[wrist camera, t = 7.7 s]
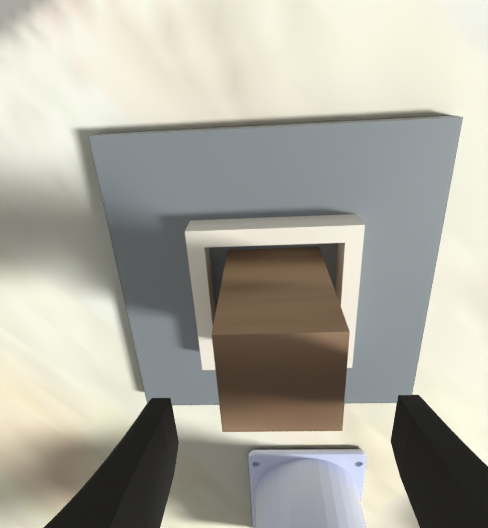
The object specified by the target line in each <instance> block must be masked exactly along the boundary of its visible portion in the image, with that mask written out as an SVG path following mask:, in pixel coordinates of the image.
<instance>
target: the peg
mask: <svg viewBox="0 0 488 528" xmlns="http://www.w3.org/2000/svg"><path fill="white" fill-rule="evenodd" d="M349 335H350V331H349V328H348V325H347V323H346V320H345V317H344V314H343V312H342V309H341V306H340V303H339V301H338V298H337V295H336V292H335V289H334V287H333V284H332V281H331V278H330V276H329V273H328V270H327V267H326V265H325V262H324V259H323V256H322V253H321V251H320V248H319V247H302V248H275V249H249V250H228V251H227V256H226V262H225V267H224V272H223V277H222V283H221V288H220V293H219V298H218V304H217V309H216V314H215V319H214V325H213V330H212V344H213V352H214V361H215V370H216V379H217V387H218V396H219V405H220V414H221V422H222V431H223V432H263V431H342V426H343V413H344V400H345V387H346V374H347V361H348V348H349Z"/></svg>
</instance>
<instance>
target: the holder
mask: <svg viewBox="0 0 488 528" xmlns="http://www.w3.org/2000/svg"><path fill="white" fill-rule="evenodd" d="M462 119H463V117H459V116H453V115H449V116H430V117H411V118H391V119H372V120H353V121H334V122H315V123H296V124H276V125H257V126H238V127H219V128H200V129H181V130H161V131H142V132H123V133H104V134H95V135H92V136H89V140H90V145H91V149H92V154H93V158H94V163H95V167H96V172H97V177H98V181H99V186H100V190H101V195H102V199H103V204H104V208H105V213H106V218H107V222H108V227H109V231H110V236H111V240H112V245H113V250H114V254H115V259H116V263H117V268H118V272H119V277H120V281H121V286H122V291H123V295H124V300H125V304H126V309H127V313H128V318H129V323H130V327H131V332H132V336H133V341H134V345H135V350H136V355H137V359H138V364H139V368H140V373H141V377H142V382H143V386H144V391H145V396H146V400H147V403H148V402H149V400H150V399H152V398H171V403H172V405H219V396H218V387H217V379H216V370H215V361H214V352H213V344H212V330H213V325H214V319H215V314H216V309H217V304H218V298H219V293H220V288H221V283H222V277H223V272H224V267H225V262H226V256H227V251H228V250H249V249H275V248H302V247H319V248H320V251H321V253H322V256H323V259H324V262H325V265H326V267H327V270H328V273H329V276H330V278H331V281H332V284H333V287H334V289H335V292H336V295H337V298H338V301H339V303H340V306H341V309H342V312H343V314H344V317H345V320H346V323H347V325H348V328H349V331H350V335H349V348H348V361H347V374H346V387H345V400H344V403H397V400H398V395H412V392H413V386H414V381H415V376H416V370H417V365H418V359H419V354H420V348H421V343H422V337H423V332H424V327H425V321H426V316H427V310H428V305H429V299H430V294H431V288H432V283H433V277H434V272H435V267H436V261H437V256H438V250H439V245H440V239H441V234H442V228H443V223H444V217H445V212H446V207H447V201H448V196H449V190H450V185H451V179H452V174H453V168H454V163H455V158H456V152H457V147H458V141H459V136H460V130H461V125H462Z"/></svg>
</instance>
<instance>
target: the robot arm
mask: <svg viewBox="0 0 488 528" xmlns="http://www.w3.org/2000/svg"><path fill="white" fill-rule="evenodd" d="M178 443H179V442H178V436H177V431H176V425H175V420H174V414H173V409H172V403H171V398H152V399H150V400H149V402H148V403H147V405H146V406H145V408H144V409H143V410H142V412H141V413H140V415H139V416H138V418H137V419H136V421H135V422H134V423H133V425H132V426H131V427H130V429H129V430H128V432H127V433H126V434H125V436H124V437H123V438H122V440H121V441H120V442H119V444H118V445H117V446H116V447H115V449H114V450H113V451H112V453H111V454H110V455H109V456H108V458H107V459H106V460H105V461H104V463H103V464H102V465H101V466H100V467H99V469H98V470H97V471H96V472H95V473H94V475H93V476H92V477H91V478H90V479H89V481H88V482H87V483H86V484H85V485H84V486H83V487H82V488H81V490H80V491H79V492H78V493H77V494H76V495H75V496H74V497H73V498H72V499H71V501H70V502H69V503H68V504H67V505H66V506H65V507H64V508H63V509H62V510H61V511H60V512H59V513H58V514H57V515H56V516H55V517H54V518H53V519H52V520H51V521H50V522H49V523H48V524H47V525H46V526H45V527H44V528H160V526H161V522H162V518H163V514H164V511H165V507H166V503H167V499H168V495H169V492H170V488H171V484H172V480H173V476H174V470H175V464H176V457H177V450H178ZM391 444H392V448H393V452H394V456H395V460H396V463H397V467H398V470H399V474H400V477H401V480H402V482H403V485H404V487H405V490H406V493H407V495H408V498H409V500H410V503H411V505H412V508H413V511H414V513H415V516H416V518H417V521H418V523H419V526H420V528H488V466H487V465H486V464H485V463H484V462H483V461H481V460H480V459H479V458H478V457H477V456H476V455H475V454H474V453H473V452H472V451H471V450H470V449H469V448H468V447H467V446H466V445H465V444H464V443H463V442H462V441H461V440H460V439H459V437H458V436H457V435H456V434H455V433H454V432H453V431H452V430H451V429H450V428H449V427H448V426H447V425H446V424H445V423H444V422H443V421H442V420H441V419H440V417H439V416H438V415H437V414H436V413H435V412H434V411H433V410H432V409H431V408H430V407H429V406H428V404H427V403H426V402H425V401H424V400H423V399H422V398H421V397H420V396H419V395H398V400H397V406H396V412H395V418H394V425H393V431H392V437H391ZM366 460H367V457H366V453H365V452H364V451H363V450H359V449H329V450H252V451H250V452H249V455H248V461H249V475H250V490H251V504H252V518H253V528H367V527H366V523H365V518H364V514H363V510H362V506H361V499H362V492H363V484H364V476H365V468H366Z"/></svg>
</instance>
